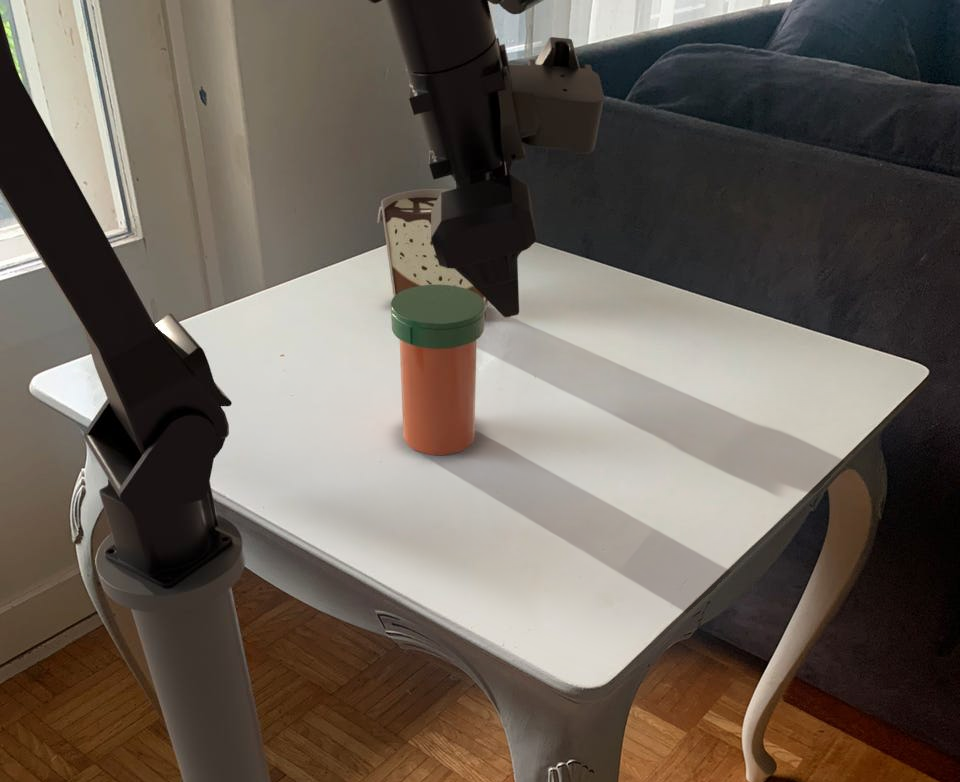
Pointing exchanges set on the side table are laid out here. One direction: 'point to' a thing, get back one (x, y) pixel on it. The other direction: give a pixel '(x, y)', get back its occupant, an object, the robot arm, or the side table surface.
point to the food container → (415, 243)
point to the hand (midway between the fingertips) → (509, 277)
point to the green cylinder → (437, 316)
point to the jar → (438, 397)
